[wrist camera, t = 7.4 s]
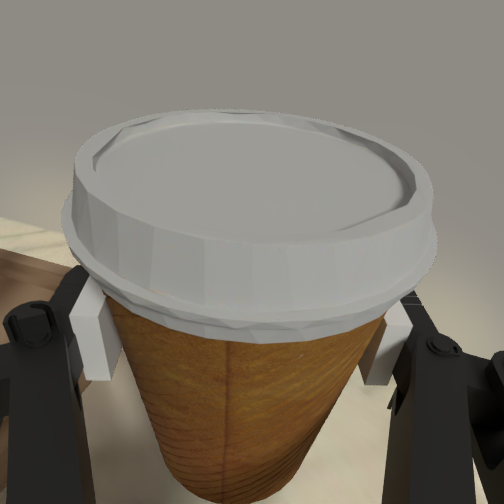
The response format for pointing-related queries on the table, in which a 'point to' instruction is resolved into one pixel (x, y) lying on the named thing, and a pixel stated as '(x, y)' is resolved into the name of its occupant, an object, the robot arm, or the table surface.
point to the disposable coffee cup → (245, 276)
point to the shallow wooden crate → (19, 292)
